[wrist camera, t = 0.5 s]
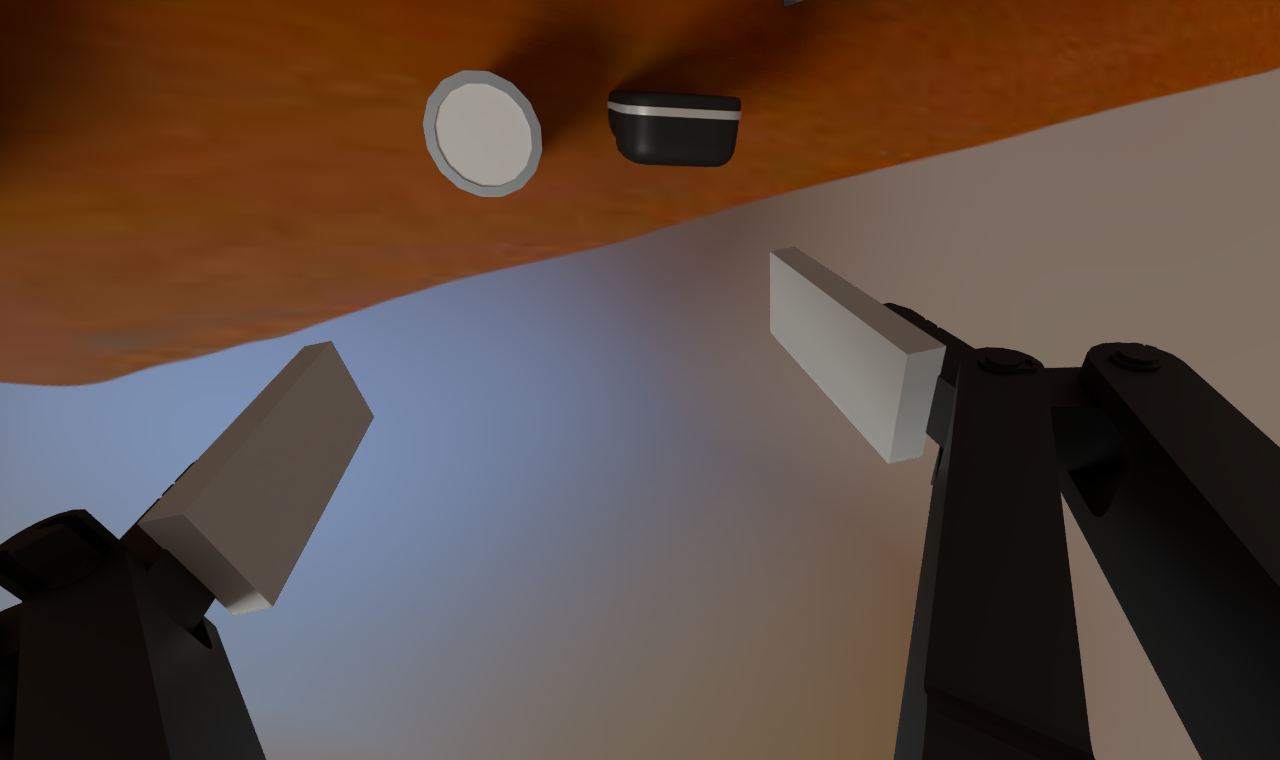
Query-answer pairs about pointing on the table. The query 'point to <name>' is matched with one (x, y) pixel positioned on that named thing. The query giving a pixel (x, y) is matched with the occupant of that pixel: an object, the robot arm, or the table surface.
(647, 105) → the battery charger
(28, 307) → the table surface
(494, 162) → the grey rimmed cylinder
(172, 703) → the robot arm
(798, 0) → the console
